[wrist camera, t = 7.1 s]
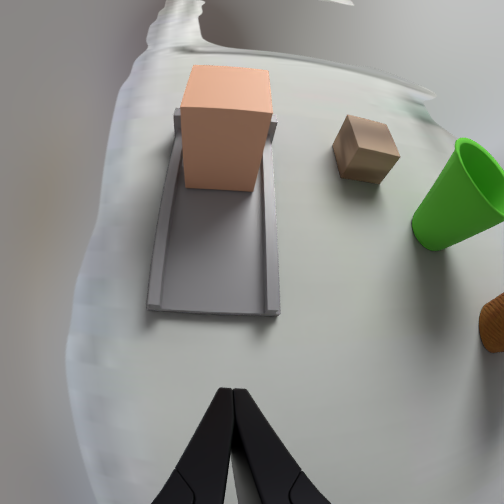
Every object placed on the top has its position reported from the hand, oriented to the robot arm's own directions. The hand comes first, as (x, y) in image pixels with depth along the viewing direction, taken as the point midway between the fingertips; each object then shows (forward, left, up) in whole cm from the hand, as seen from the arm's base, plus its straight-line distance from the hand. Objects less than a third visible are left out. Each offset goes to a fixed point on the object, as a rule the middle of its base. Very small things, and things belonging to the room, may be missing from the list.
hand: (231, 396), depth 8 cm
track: (+15, +1, -12) cm, 20 cm away
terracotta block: (+19, +1, -11) cm, 22 cm away
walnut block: (+22, -14, -13) cm, 29 cm away
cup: (+14, -22, -13) cm, 29 cm away
